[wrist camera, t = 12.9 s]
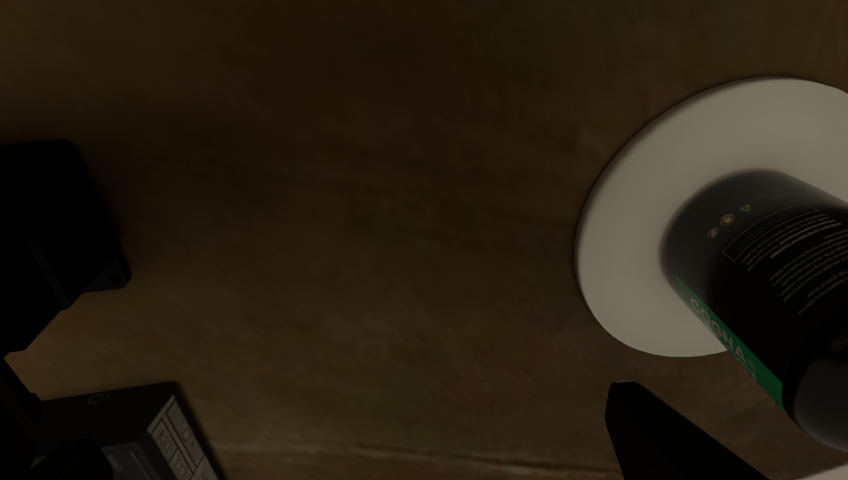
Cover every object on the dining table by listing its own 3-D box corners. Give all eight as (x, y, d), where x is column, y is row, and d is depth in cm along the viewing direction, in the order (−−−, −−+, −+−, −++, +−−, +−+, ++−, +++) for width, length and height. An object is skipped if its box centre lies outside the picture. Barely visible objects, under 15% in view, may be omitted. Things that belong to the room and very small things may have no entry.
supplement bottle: (640, 301, 23) (854, 570, 13) (680, 166, 20) (1011, 383, 10) (773, 296, 24) (1079, 550, 14) (833, 165, 21) (1299, 367, 10)
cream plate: (563, 358, 26) (570, 371, 25) (587, 93, 19) (597, 99, 18) (814, 328, 27) (829, 340, 26) (924, 60, 20) (949, 64, 19)
